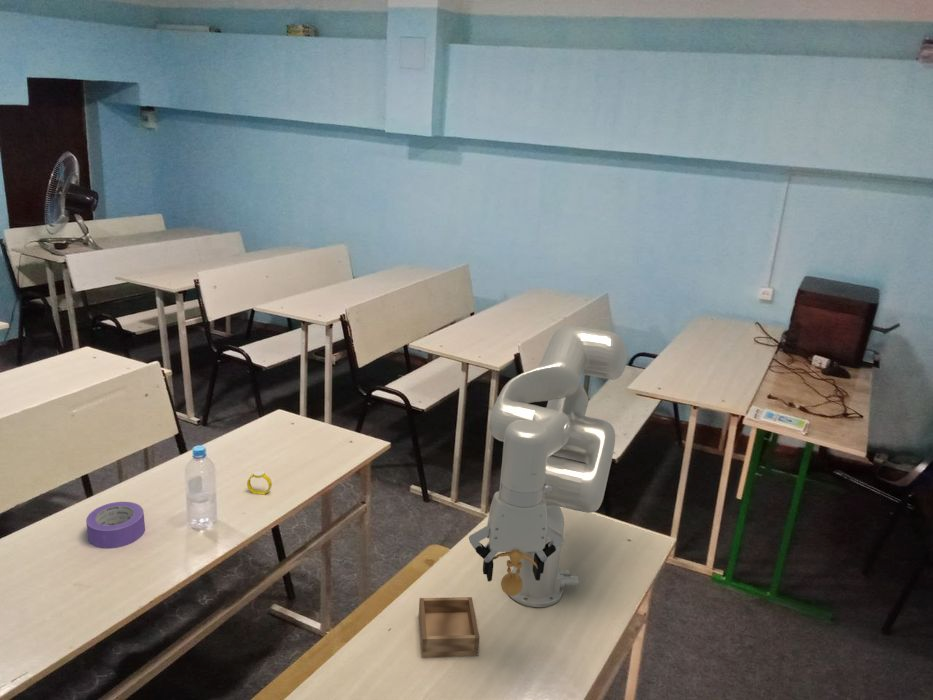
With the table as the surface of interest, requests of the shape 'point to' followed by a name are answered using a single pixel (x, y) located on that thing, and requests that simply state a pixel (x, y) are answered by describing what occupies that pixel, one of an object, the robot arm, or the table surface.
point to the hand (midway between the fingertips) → (512, 575)
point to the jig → (448, 627)
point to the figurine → (512, 580)
